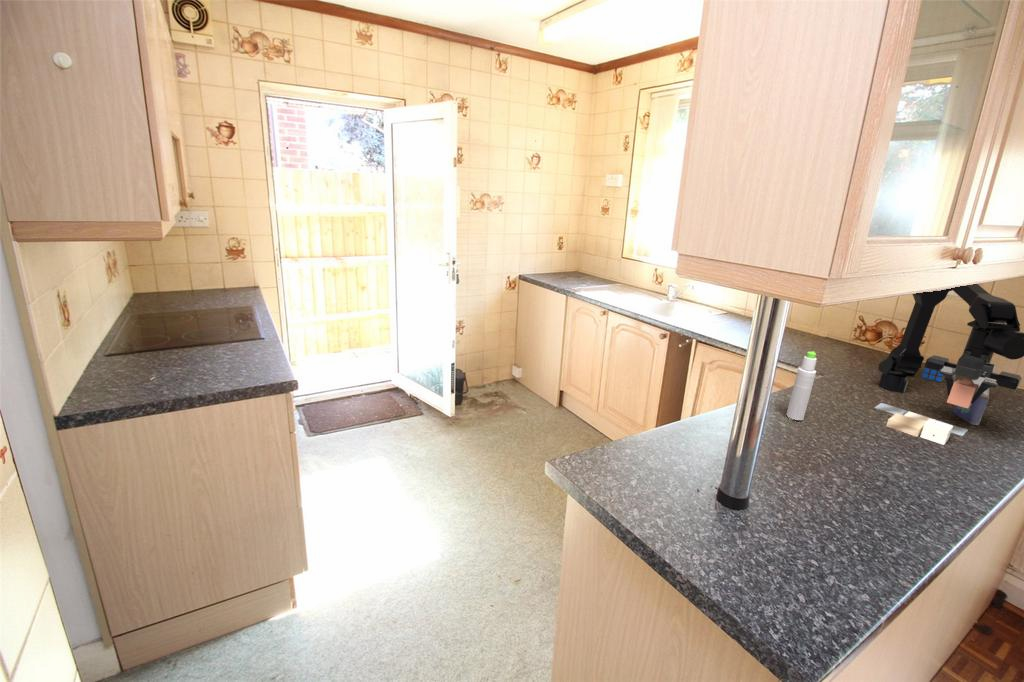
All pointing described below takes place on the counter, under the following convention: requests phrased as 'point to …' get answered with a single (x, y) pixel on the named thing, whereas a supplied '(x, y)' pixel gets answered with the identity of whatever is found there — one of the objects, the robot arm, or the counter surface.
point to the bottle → (802, 387)
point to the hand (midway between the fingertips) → (960, 400)
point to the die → (936, 431)
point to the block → (906, 424)
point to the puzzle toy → (932, 374)
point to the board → (917, 417)
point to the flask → (973, 410)
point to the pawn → (962, 392)
